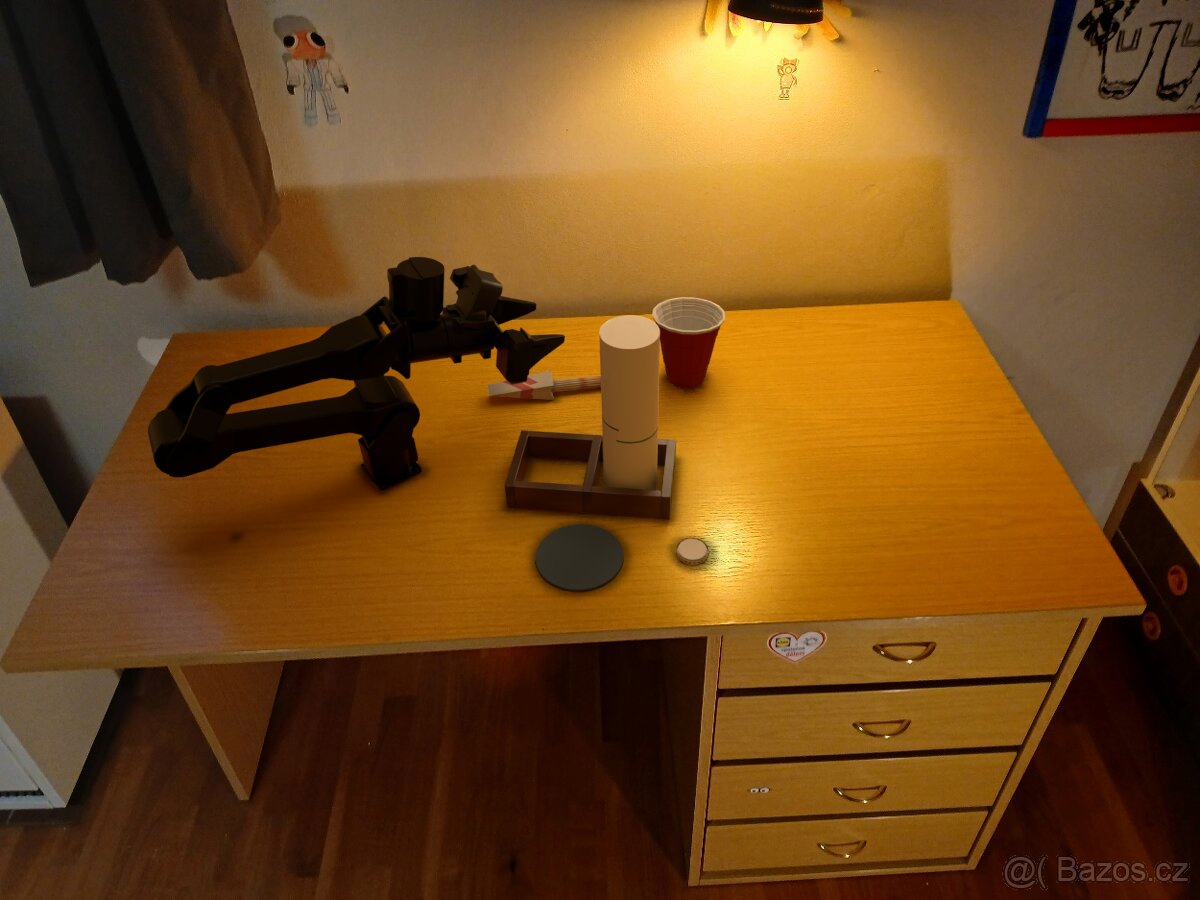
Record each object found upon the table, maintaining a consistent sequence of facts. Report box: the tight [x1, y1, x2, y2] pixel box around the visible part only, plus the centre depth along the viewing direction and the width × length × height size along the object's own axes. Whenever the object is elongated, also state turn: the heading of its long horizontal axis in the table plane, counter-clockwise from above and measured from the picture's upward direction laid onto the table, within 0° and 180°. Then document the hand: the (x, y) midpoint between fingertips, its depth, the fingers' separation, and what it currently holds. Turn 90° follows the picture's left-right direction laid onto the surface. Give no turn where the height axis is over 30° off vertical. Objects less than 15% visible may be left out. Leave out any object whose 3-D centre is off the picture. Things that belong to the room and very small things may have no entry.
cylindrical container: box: [598, 314, 661, 490], centre depth 115 cm, size 7×7×25 cm
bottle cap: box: [675, 537, 709, 566], centre depth 114 cm, size 4×4×1 cm
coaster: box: [535, 523, 625, 593], centre depth 114 cm, size 11×11×1 cm
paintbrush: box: [487, 370, 601, 401], centre depth 139 cm, size 4×3×20 cm
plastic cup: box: [652, 296, 726, 390], centre depth 138 cm, size 11×11×12 cm
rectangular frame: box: [504, 429, 677, 520], centre depth 123 cm, size 22×11×4 cm, turn 83°
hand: (549, 322), depth 125 cm, fingers open, 9 cm apart
